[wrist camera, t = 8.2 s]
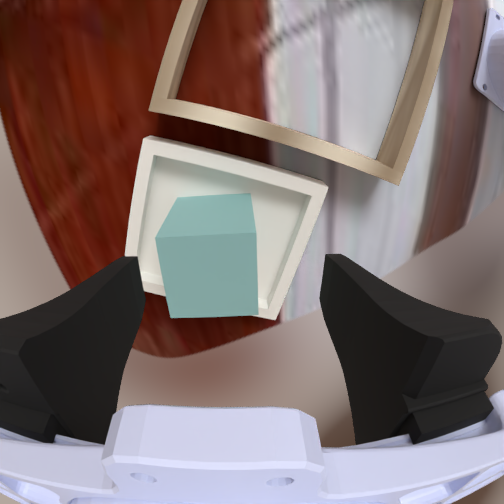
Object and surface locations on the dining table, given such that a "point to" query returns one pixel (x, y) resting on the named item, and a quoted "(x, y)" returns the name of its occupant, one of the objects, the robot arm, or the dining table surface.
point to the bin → (384, 167)
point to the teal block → (209, 256)
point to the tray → (218, 183)
